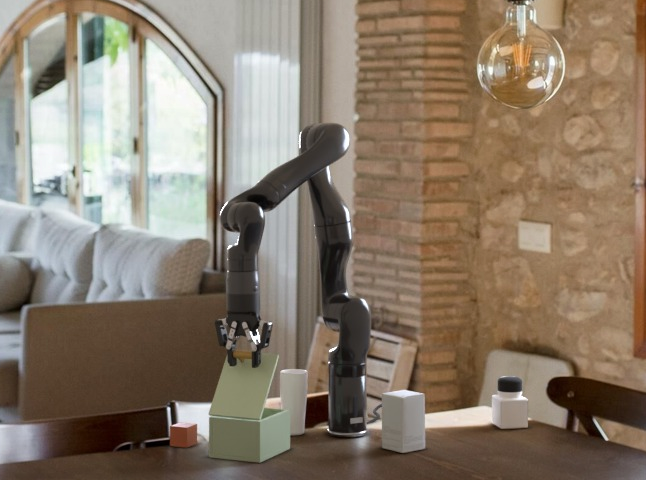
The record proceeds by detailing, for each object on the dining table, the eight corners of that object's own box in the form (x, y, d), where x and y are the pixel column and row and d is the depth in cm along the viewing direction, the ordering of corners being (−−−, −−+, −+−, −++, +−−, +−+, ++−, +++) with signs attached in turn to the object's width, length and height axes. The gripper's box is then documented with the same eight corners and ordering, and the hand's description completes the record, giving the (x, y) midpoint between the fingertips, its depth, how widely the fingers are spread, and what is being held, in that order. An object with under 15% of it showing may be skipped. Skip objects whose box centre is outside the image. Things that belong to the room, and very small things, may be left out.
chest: (240, 443, 299) (241, 405, 299) (290, 448, 294) (290, 409, 294) (208, 457, 285) (208, 416, 285) (259, 462, 280) (260, 421, 280)
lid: (229, 352, 294) (220, 342, 291) (279, 355, 289) (271, 345, 285) (209, 415, 286) (200, 405, 282) (260, 420, 281) (251, 410, 277)
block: (180, 442, 301) (180, 422, 301) (197, 443, 299) (197, 423, 299) (169, 446, 296) (169, 425, 296) (186, 447, 294) (187, 427, 295)
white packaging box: (426, 449, 293) (426, 393, 294) (401, 453, 289) (401, 397, 289) (405, 443, 299) (404, 388, 299) (380, 448, 294) (380, 392, 295)
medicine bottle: (528, 428, 316) (528, 379, 316) (500, 429, 315) (500, 380, 315) (518, 422, 323) (518, 374, 323) (491, 423, 322) (491, 375, 322)
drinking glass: (309, 431, 313) (309, 369, 313) (305, 437, 306) (305, 373, 306) (281, 430, 313) (282, 368, 314) (277, 436, 306) (277, 373, 307)
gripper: (279, 289, 288) (280, 365, 288) (223, 287, 294) (224, 361, 294) (263, 293, 281) (264, 371, 281) (206, 291, 287) (207, 367, 287)
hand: (244, 366), depth 287 cm, fingers closed on lid, 5 cm apart
